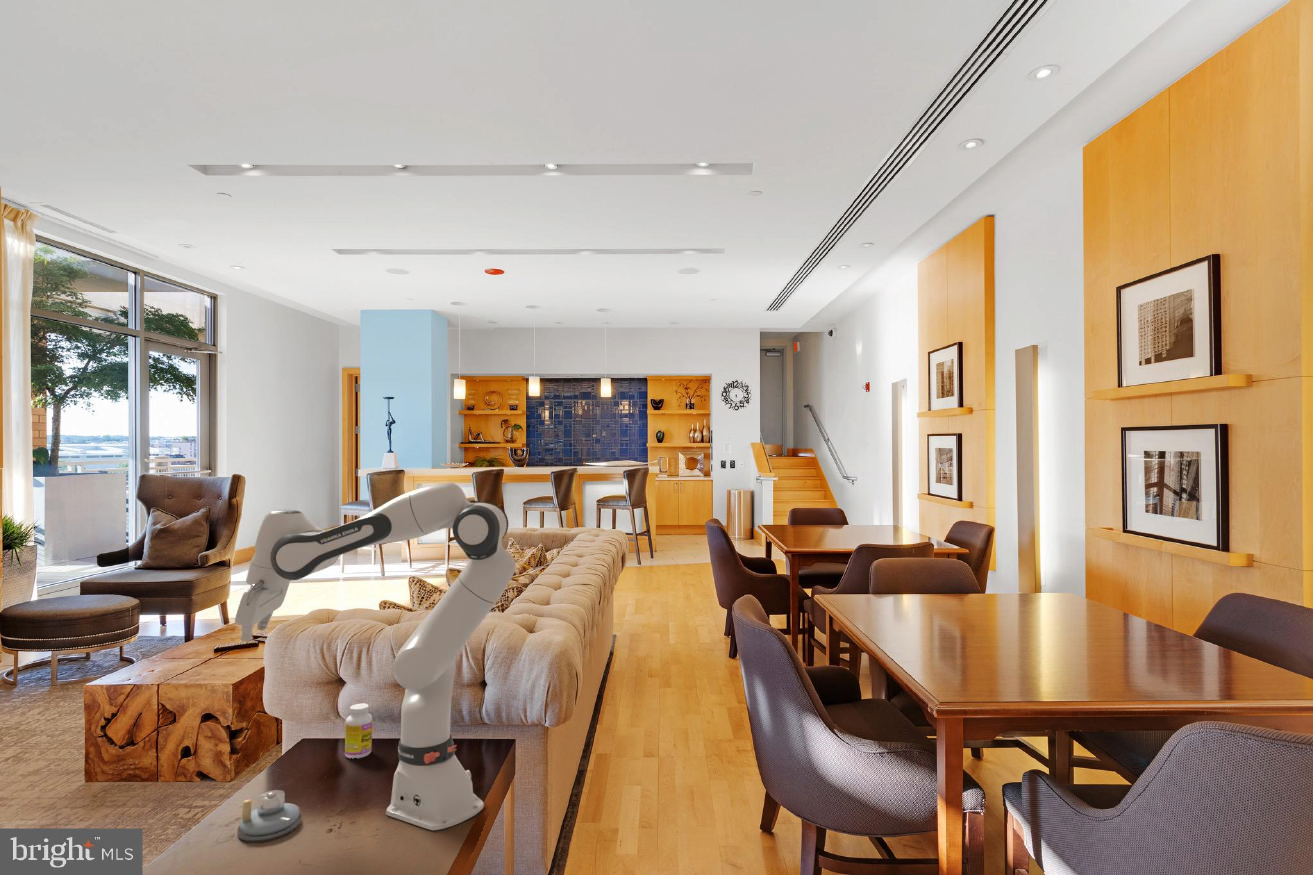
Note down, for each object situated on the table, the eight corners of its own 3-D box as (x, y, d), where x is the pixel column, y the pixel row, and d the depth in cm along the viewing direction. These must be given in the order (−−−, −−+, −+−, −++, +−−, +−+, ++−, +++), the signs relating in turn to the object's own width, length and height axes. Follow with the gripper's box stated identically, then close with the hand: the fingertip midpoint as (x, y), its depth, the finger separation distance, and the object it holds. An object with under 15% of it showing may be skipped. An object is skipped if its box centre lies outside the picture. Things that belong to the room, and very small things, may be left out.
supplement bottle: (361, 760, 182) (362, 711, 182) (339, 758, 183) (340, 709, 183) (376, 750, 188) (377, 702, 189) (355, 748, 189) (356, 701, 190)
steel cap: (288, 809, 151) (289, 792, 151) (263, 819, 147) (263, 801, 147) (278, 802, 154) (278, 785, 154) (253, 811, 150) (253, 793, 150)
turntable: (308, 819, 149) (309, 795, 149) (252, 841, 140) (253, 815, 141) (285, 803, 156) (286, 780, 156) (231, 823, 147) (231, 798, 148)
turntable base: (311, 825, 149) (311, 820, 149) (251, 849, 140) (251, 844, 140) (286, 807, 157) (286, 803, 157) (228, 829, 147) (228, 824, 147)
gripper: (266, 588, 151) (250, 650, 151) (296, 571, 171) (283, 625, 171) (236, 583, 150) (220, 645, 149) (270, 566, 170) (256, 621, 170)
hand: (253, 634), depth 160 cm, fingers open, 8 cm apart
